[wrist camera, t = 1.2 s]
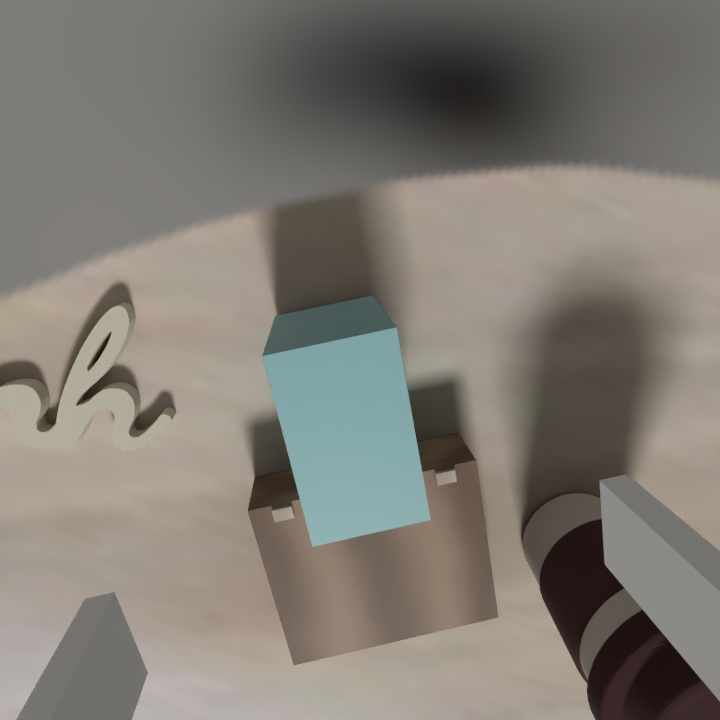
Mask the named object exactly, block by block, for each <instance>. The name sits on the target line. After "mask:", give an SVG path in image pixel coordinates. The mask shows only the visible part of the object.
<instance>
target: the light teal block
mask: <svg viewBox="0 0 720 720" xmlns="http://www.w3.org/2000/svg"><path fill="white" fill-rule="evenodd" d="M262 357H263V361H264V364H265V368H266V372H267V376H268V380H269V383H270V387H271V391H272V395H273V399H274V403H275V406H276V410H277V414H278V418H279V422H280V425H281V429H282V433H283V437H284V441H285V444H286V448H287V452H288V456H289V460H290V464H291V467H292V471H293V475H294V479H295V483H296V486H297V490H298V494H299V498H300V502H301V505H302V509H303V513H304V517H305V521H306V525H307V528H308V532H309V536H310V540H311V544H312V547H314V546H319V545H323V544H327V543H332V542H336V541H341V540H345V539H349V538H354V537H358V536H363V535H367V534H371V533H376V532H380V531H385V530H389V529H393V528H398V527H402V526H407V525H411V524H416V523H420V522H424V521H429V520H431V518H430V513H429V507H428V501H427V496H426V490H425V484H424V479H423V473H422V468H421V462H420V456H419V451H418V445H417V440H416V434H415V428H414V423H413V417H412V412H411V406H410V400H409V395H408V389H407V384H406V378H405V372H404V367H403V361H402V356H401V350H400V344H399V339H398V333H397V328H396V326H395V325H394V323H393V322H392V321H391V319H390V318H389V317H388V315H387V314H386V313H385V311H384V310H383V309H382V307H381V306H380V305H379V303H378V302H377V301H376V299H375V298H374V297H373V295H372V296H367V297H362V298H358V299H353V300H348V301H343V302H339V303H334V304H329V305H324V306H320V307H315V308H310V309H305V310H301V311H296V312H291V313H286V314H282V315H277V316H275V319H274V322H273V325H272V328H271V331H270V334H269V337H268V340H267V343H266V346H265V349H264V352H263V356H262Z"/></svg>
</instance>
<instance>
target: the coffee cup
mask: <svg viewBox="0 0 720 720" xmlns="http://www.w3.org/2000/svg"><path fill="white" fill-rule="evenodd" d="M523 550H524V554H525V558H526V560H527V562H528V564H529V566H530V568H531V570H532V572H533V574H534V576H535V578H536V580H537V582H538V583H539V585H540V591H541V595H542V598H543V600H544V602H545V604H546V606H547V608H548V610H549V612H550V615H551V617H552V619H553V621H554V623H555V625H556V627H557V629H558V631H559V633H560V635H561V637H562V639H563V641H564V643H565V645H566V647H567V649H568V651H569V653H570V655H571V657H572V659H573V661H574V663H575V665H576V667H577V669H578V671H579V672H580V674H581V676H582V677H583V679H584V680H585V681H586V682H587V683H588V686H587V694H588V701H589V705H590V708H591V711H592V713H593V715H594V718H595V720H720V701H719V700H718V699H717V698H716V696H715V695H714V694H713V693H712V692H711V690H710V689H709V688H708V687H707V686H706V684H705V683H704V682H703V681H702V680H701V678H700V677H699V676H698V675H697V674H696V673H695V671H694V670H693V669H692V668H691V667H690V665H689V664H688V663H687V662H686V661H685V659H684V658H683V657H682V656H681V655H680V653H679V652H678V651H677V650H676V649H675V648H674V646H673V645H672V644H671V643H670V642H669V640H668V639H667V638H666V637H665V636H664V634H663V633H662V632H661V631H660V630H659V628H658V627H657V626H656V625H655V624H654V622H653V621H652V620H651V619H650V618H649V617H648V615H647V614H646V613H645V612H644V611H643V609H642V608H641V607H640V606H639V605H638V603H637V602H636V601H635V600H634V599H633V597H632V596H631V595H630V594H629V593H628V592H627V590H626V589H625V588H624V587H623V586H622V584H621V583H620V582H619V581H618V580H617V578H616V577H615V576H614V575H613V574H612V572H611V571H610V570H609V569H608V568H607V567H606V565H605V563H604V547H603V531H602V515H601V499H600V498H598V497H596V496H594V495H590V494H585V493H570V494H565V495H561V496H558V497H556V498H554V499H552V500H550V501H548V502H546V503H545V504H544V505H542V506H541V507H540V508H539V509H538V510H537V511H536V512H535V513H534V514H533V515H532V517H531V518H530V520H529V522H528V524H527V526H526V528H525V532H524V536H523Z"/></svg>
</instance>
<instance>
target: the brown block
mask: <svg viewBox="0 0 720 720" xmlns="http://www.w3.org/2000/svg"><path fill="white" fill-rule="evenodd" d="M417 445H418V451H419V456H420V462H421V468H422V473H423V479H424V484H425V490H426V496H427V501H428V507H429V513H430V518H431V520H429V521H424V522H420V523H416V524H411V525H407V526H402V527H398V528H393V529H389V530H385V531H380V532H376V533H371V534H367V535H363V536H358V537H354V538H349V539H345V540H341V541H336V542H332V543H327V544H323V545H319V546H314V547H312V544H311V540H310V536H309V532H308V528H307V525H306V521H305V517H304V513H303V509H302V505H301V502H300V498H299V494H298V490H297V486H296V483H295V479H294V475H293V471H292V470H287V471H283V472H278V473H274V474H269V475H265V476H260V477H256V478H255V479H254V484H253V489H252V493H251V498H250V503H249V508H248V513H249V517H250V520H251V523H252V527H253V530H254V533H255V537H256V540H257V543H258V547H259V550H260V553H261V557H262V560H263V563H264V567H265V570H266V573H267V577H268V580H269V583H270V587H271V590H272V594H273V597H274V600H275V604H276V607H277V610H278V614H279V617H280V620H281V624H282V627H283V630H284V634H285V637H286V640H287V644H288V647H289V650H290V654H291V657H292V660H293V664H294V665H297V664H302V663H306V662H310V661H314V660H319V659H323V658H327V657H331V656H336V655H340V654H344V653H348V652H353V651H357V650H361V649H365V648H370V647H374V646H378V645H383V644H387V643H391V642H395V641H400V640H404V639H408V638H412V637H417V636H421V635H425V634H429V633H434V632H438V631H442V630H446V629H451V628H455V627H459V626H463V625H468V624H472V623H476V622H480V621H485V620H489V619H493V618H497V617H498V611H497V604H496V597H495V590H494V583H493V576H492V569H491V562H490V555H489V548H488V541H487V534H486V527H485V520H484V513H483V506H482V499H481V492H480V485H479V478H478V471H477V464H476V459H475V458H474V456H473V455H472V453H471V452H470V450H469V449H468V447H467V446H466V444H465V443H464V441H463V440H462V438H461V437H460V435H459V434H458V433H454V434H450V435H445V436H441V437H436V438H432V439H427V440H423V441H418V442H417Z"/></svg>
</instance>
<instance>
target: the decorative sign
mask: <svg viewBox="0 0 720 720" xmlns="http://www.w3.org/2000/svg"><path fill="white" fill-rule="evenodd" d="M135 320H136V317H135V311H134V309H133V306H132V305H131V304H130V303H128V302H123V303H121V304H118V305H116V306H115V307H113V308H111V309H110V310H108V311H107V312H106V313H105V314H104V315H103V316H102V318H101V319H100V320H99V321H98V322H97V324H96V325H95V327H94V328H93V329H92V331H91V333H90V334H89V336H88V337H87V339H86V341H85V343H84V344H83V346H82V348H81V350H80V352H79V354H78V356H77V358H76V360H75V362H74V364H73V367H72V369H71V371H70V374H69V376H68V379H67V381H66V384H65V387H64V390H63V393H62V396H61V399H60V403H59V407H58V412H57V419H56V424H54V425H51V424H48V423H47V421H46V420H45V418H46V416H45V414H46V412H47V410H48V407H49V403H50V395H49V391H48V389H47V387H46V386H45V385H44V384H43V383H42V382H41V381H39V380H36V379H31V378H25V379H17V380H13V381H10V382H8V383H6V384H4V385H1V386H0V409H6V410H8V411H9V412H10V413H11V415H12V421H13V433H14V437H15V439H16V441H17V442H19V443H20V444H23V445H25V446H28V447H32V448H38V449H49V448H52V447H55V446H60V447H61V448H62V449H64V450H70V449H71V448H73V447H74V446H75V445H76V444H77V443H78V442H79V441H80V440H81V439H82V438H83V436H84V435H85V433H86V431H87V429H88V427H89V426H90V424H91V422H92V420H93V418H94V416H95V415H96V414H97V413H98V411H100V410H104V409H109V410H110V411H111V412H112V413H113V414H114V417H115V420H114V423H113V426H112V430H111V435H110V439H111V442H112V444H113V445H114V446H115V447H116V448H117V449H119V450H121V451H124V452H131V451H136V450H139V449H142V448H143V447H145V446H147V445H148V444H150V443H151V442H152V441H153V440H154V439H155V438H156V437H157V436H158V435H159V434H160V433H161V432H162V431H163V430H164V429H165V427H166V426H167V425H168V424H169V423H170V421H171V420H172V419H173V417H174V416H175V414H176V411H175V410H174V409H173V408H169V407H167V408H166V409H164V411H163V412H162V413H161V414H160V416H159V417H158V418H157V419H156V420H155V421H154V422H153V423H152V424H151V425H150V426H148V427H147V428H146V429H144V430H138V429H136V428H135V420H136V418H137V415H138V413H139V410H140V405H141V401H140V395H139V393H138V391H137V389H136V388H135V387H133V386H132V385H131V384H128V383H123V382H117V383H112V384H110V385H107V386H106V387H104V388H103V389H102V390H100V391H99V392H98V393H97V394H96V395H95V396H93V397H91V398H88V399H84V396H85V394H86V392H87V391H88V390H89V389H90V388H91V386H93V385H94V384H95V383H96V382H97V381H98V380H100V379H101V378H102V377H103V376H104V375H105V374H106V373H107V372H108V371H109V370H110V369H111V368H112V366H113V365H114V364H115V363H116V361H117V360H118V359H119V357H120V356H121V354H122V352H123V351H124V349H125V347H126V345H127V344H128V342H129V339H130V337H131V335H132V332H133V329H134V326H135ZM110 335H111V336H110ZM109 336H110V339H109V341H108V344H107V346H106V348H105V349H104V351H103V353H102V355H101V356H100V358H99V359H98V361H97V362H96V363H95V360H96V358H97V356H98V354H99V352H100V350H101V348H102V347H103V345H104V344H105V342H106V340H107V339H108V338H109ZM83 399H84V400H83Z"/></svg>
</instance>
